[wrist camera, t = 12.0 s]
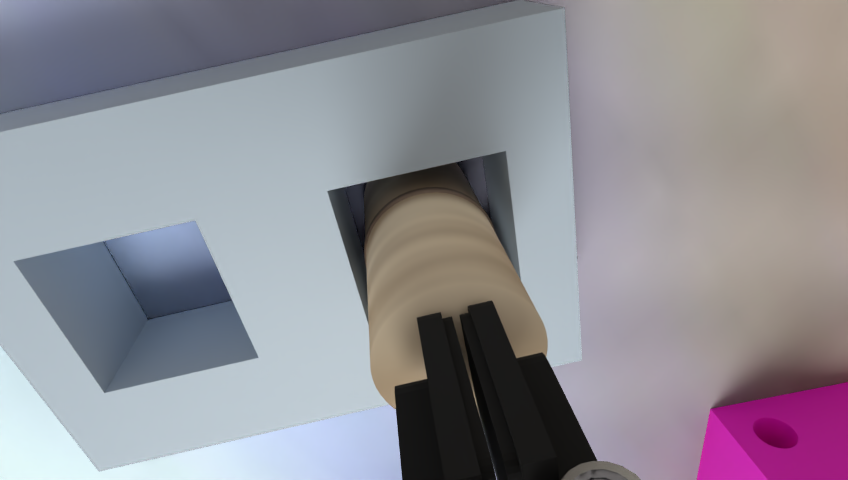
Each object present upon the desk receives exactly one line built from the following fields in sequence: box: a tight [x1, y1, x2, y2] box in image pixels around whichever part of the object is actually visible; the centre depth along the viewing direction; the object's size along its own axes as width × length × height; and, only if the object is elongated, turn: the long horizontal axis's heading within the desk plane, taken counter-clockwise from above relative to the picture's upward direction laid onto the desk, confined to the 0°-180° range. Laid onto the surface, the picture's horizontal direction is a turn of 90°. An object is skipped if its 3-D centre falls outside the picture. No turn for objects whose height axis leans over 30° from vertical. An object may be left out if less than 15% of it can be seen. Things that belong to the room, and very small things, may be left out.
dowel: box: [364, 162, 548, 416], centre depth 15 cm, size 4×4×9 cm
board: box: [0, 0, 582, 471], centre depth 17 cm, size 18×12×4 cm, turn 101°
